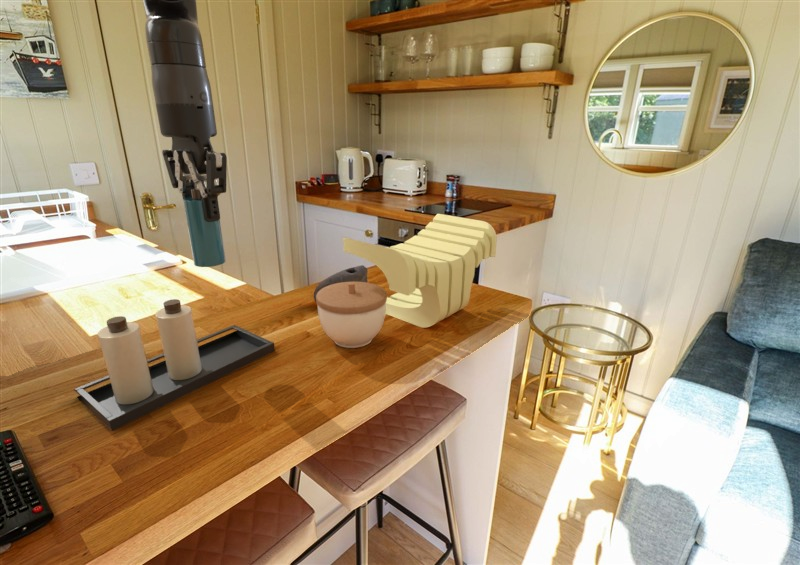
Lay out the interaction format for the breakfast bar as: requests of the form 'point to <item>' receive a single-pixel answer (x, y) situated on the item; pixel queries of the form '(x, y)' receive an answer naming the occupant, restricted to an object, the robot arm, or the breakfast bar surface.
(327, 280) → the perforated stone tool
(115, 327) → the cream bottle
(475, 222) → the slatted curved stool
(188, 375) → the cream bottle
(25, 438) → the breakfast bar surface
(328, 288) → the lidded bowl
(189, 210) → the teal bottle
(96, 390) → the tray
